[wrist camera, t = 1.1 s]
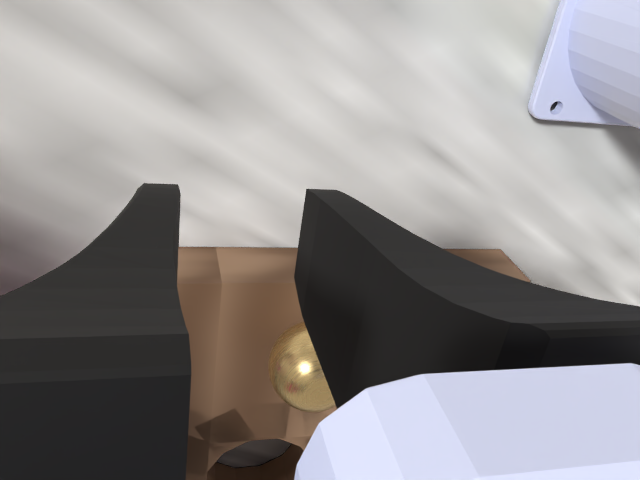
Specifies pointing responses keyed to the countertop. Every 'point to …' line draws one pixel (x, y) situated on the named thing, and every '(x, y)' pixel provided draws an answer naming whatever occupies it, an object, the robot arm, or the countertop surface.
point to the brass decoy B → (299, 372)
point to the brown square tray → (250, 353)
